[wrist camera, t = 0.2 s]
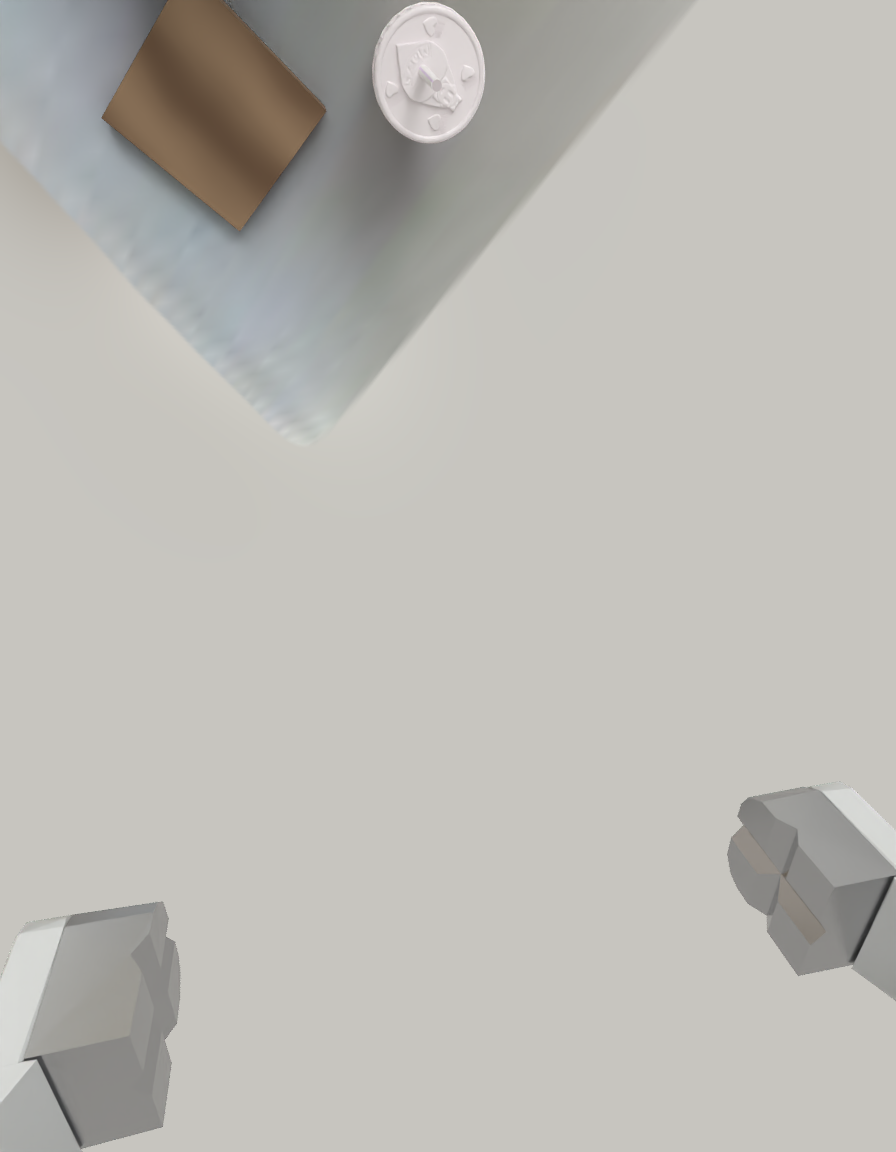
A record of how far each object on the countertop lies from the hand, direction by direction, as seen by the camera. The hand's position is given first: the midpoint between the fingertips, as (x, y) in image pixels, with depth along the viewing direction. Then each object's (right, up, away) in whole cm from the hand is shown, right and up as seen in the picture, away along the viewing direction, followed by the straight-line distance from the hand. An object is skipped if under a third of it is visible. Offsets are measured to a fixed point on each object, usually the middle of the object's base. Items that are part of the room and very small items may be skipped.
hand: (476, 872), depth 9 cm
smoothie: (-3, +39, +35) cm, 52 cm away
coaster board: (-16, +35, +35) cm, 52 cm away
